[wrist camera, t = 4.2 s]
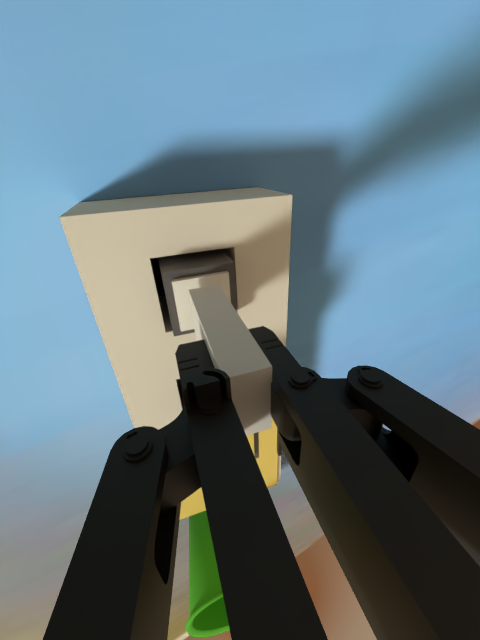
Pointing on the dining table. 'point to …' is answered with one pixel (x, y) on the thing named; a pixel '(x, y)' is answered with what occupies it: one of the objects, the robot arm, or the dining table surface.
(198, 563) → the cup
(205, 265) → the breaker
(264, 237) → the box
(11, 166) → the dining table surface
